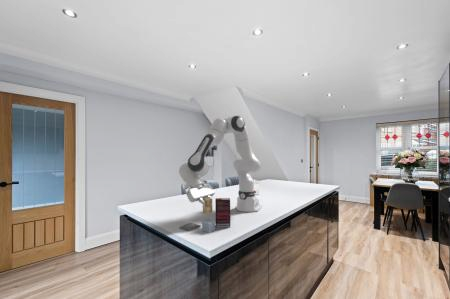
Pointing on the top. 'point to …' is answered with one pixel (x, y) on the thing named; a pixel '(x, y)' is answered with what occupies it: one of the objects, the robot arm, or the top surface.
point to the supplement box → (222, 212)
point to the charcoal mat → (190, 226)
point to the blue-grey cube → (208, 226)
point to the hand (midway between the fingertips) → (208, 204)
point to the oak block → (207, 205)
